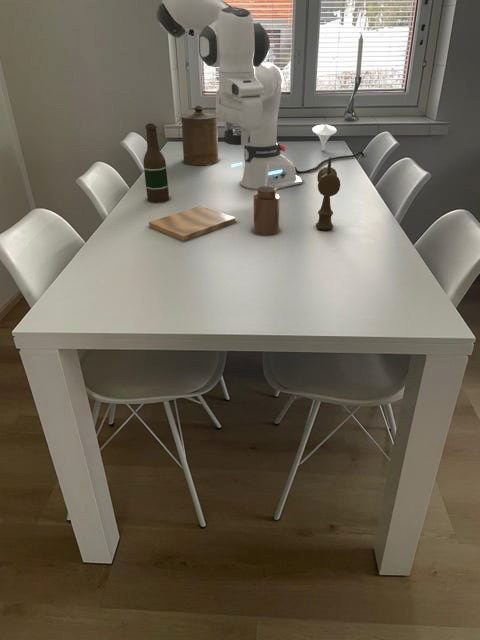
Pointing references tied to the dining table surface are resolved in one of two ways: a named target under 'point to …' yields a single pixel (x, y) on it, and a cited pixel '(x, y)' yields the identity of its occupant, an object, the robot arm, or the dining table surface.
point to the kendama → (327, 195)
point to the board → (192, 223)
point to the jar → (266, 211)
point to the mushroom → (324, 133)
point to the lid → (233, 136)
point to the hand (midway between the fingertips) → (237, 142)
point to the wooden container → (200, 138)
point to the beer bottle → (155, 168)
